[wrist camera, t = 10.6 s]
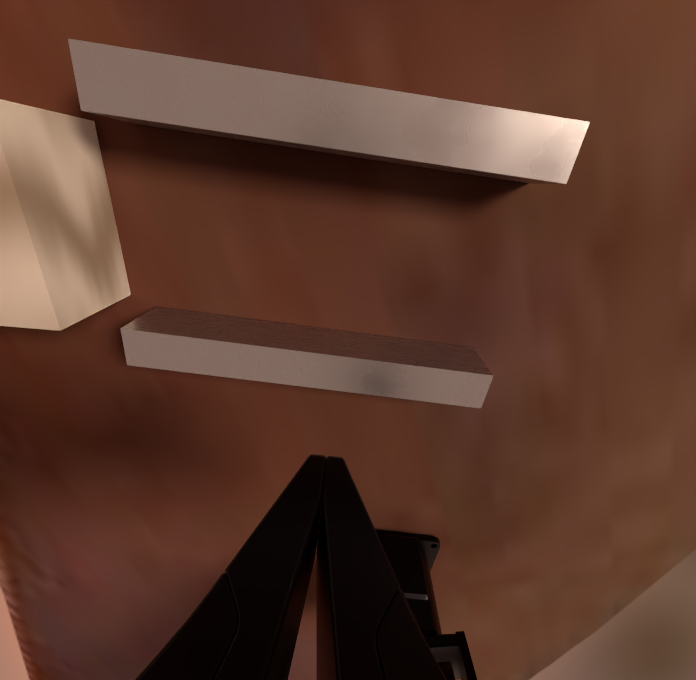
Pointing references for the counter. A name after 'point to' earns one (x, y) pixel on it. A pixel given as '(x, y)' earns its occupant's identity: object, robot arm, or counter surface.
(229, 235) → the counter surface
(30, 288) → the block
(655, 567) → the counter surface
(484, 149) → the chute
